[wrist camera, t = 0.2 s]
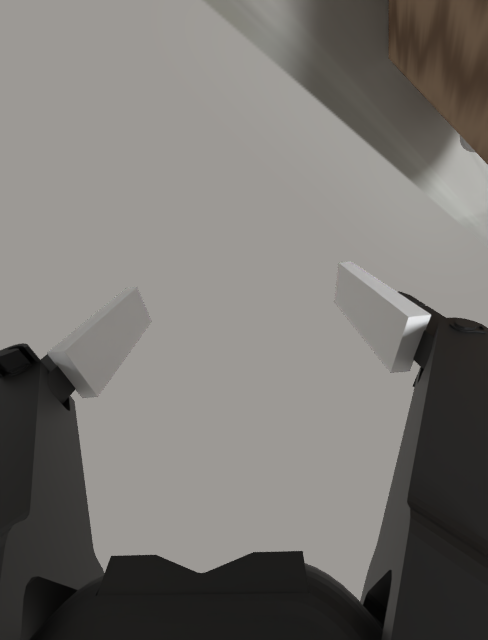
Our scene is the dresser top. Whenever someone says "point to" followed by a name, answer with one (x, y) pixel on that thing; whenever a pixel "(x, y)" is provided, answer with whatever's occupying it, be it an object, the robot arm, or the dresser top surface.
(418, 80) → the walnut shelf
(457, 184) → the dresser top surface
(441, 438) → the robot arm
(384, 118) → the dresser top surface
